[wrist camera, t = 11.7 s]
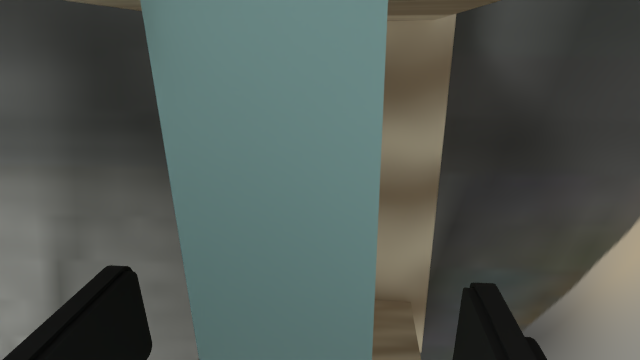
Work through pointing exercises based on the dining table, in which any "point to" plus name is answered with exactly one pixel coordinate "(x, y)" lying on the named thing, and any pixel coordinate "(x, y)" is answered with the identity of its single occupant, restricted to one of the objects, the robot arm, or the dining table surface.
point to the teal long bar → (274, 169)
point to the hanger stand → (405, 163)
